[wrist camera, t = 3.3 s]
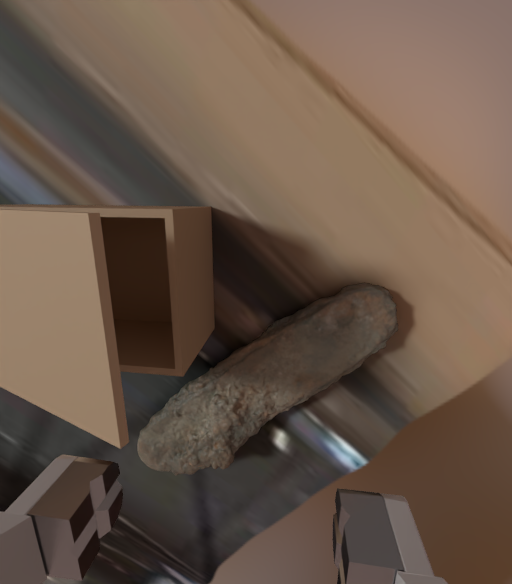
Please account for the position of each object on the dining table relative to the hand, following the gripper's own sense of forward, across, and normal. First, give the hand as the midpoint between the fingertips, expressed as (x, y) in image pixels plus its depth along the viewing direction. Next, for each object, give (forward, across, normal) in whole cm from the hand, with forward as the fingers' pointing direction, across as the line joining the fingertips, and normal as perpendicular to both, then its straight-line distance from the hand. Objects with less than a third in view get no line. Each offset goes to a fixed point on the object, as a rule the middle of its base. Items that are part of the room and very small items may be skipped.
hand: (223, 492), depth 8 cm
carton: (+25, +17, 0) cm, 30 cm away
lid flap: (+11, +17, 0) cm, 21 cm away
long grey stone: (+26, +2, +13) cm, 29 cm away
